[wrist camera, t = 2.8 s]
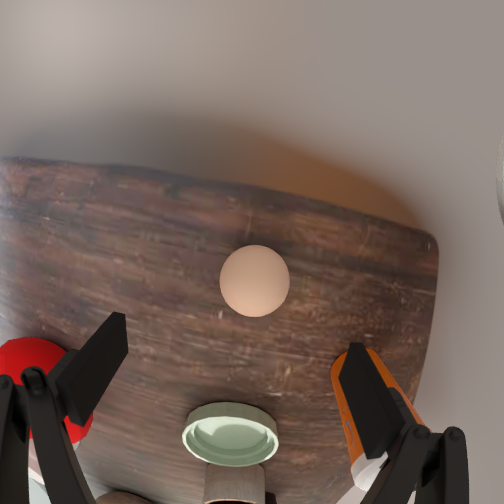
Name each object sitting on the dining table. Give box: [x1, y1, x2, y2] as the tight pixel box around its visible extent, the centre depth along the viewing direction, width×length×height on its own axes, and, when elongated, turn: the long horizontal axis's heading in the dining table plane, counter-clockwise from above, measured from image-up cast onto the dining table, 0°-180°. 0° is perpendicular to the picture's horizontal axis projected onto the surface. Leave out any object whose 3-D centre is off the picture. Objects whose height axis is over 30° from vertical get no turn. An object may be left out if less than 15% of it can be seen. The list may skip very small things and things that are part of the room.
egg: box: [220, 245, 290, 317], centre depth 27 cm, size 7×7×8 cm
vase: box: [0, 337, 93, 444], centre depth 27 cm, size 18×18×19 cm
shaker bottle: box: [330, 347, 432, 492], centre depth 25 cm, size 9×9×20 cm
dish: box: [182, 402, 279, 467], centre depth 36 cm, size 14×14×4 cm
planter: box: [203, 463, 265, 504], centre depth 37 cm, size 11×11×10 cm
